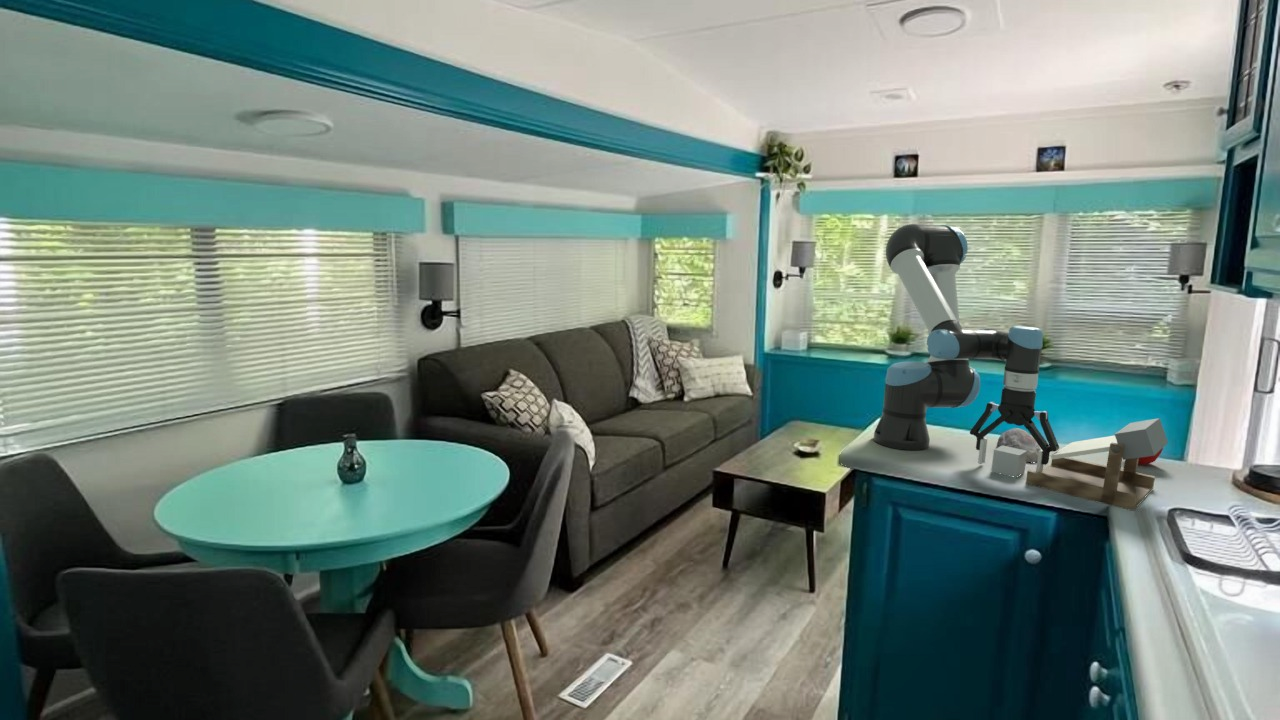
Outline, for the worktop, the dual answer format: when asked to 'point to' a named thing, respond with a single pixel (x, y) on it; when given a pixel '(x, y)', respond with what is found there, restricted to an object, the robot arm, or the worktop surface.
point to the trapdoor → (1122, 441)
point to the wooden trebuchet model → (1096, 479)
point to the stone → (1020, 443)
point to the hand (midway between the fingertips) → (1009, 469)
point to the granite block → (1009, 461)
